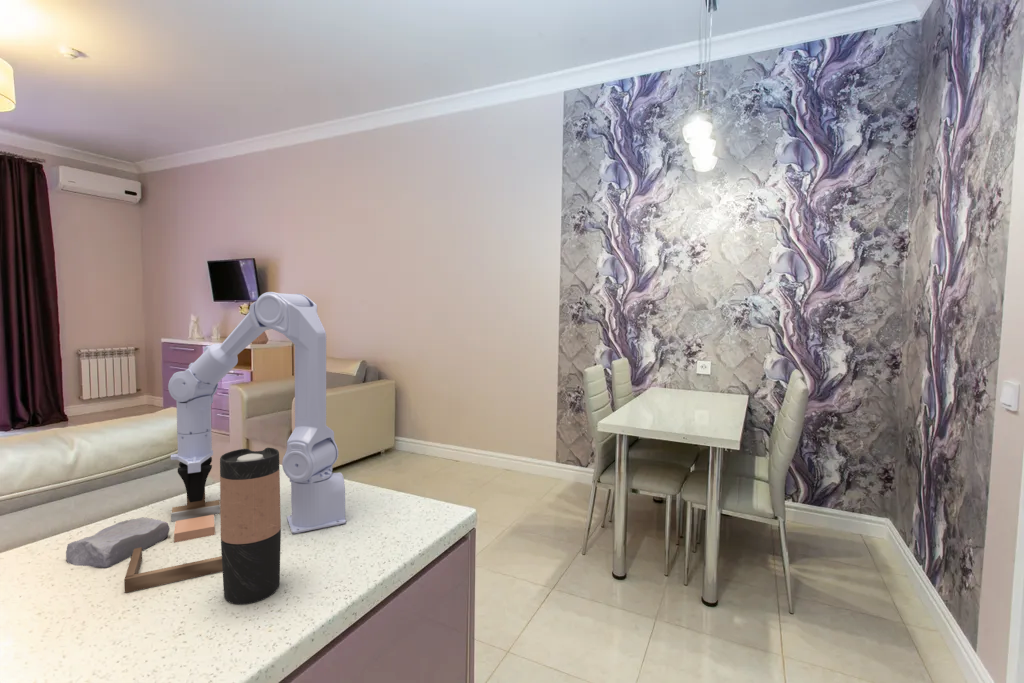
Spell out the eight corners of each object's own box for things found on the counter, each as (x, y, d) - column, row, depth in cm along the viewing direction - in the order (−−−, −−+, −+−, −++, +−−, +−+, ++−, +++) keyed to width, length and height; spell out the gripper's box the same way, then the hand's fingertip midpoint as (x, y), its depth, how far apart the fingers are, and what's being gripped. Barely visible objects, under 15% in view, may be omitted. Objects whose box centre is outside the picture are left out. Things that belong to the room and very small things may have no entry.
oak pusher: (219, 506, 102) (219, 477, 101) (220, 514, 98) (219, 484, 97) (172, 514, 98) (171, 484, 97) (171, 523, 94) (170, 492, 93)
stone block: (58, 575, 78) (109, 570, 76) (53, 545, 78) (104, 539, 76) (130, 544, 90) (175, 538, 88) (125, 517, 90) (171, 511, 88)
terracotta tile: (214, 524, 94) (213, 514, 94) (214, 537, 89) (214, 526, 89) (176, 531, 91) (175, 521, 91) (174, 545, 86) (174, 533, 85)
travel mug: (240, 612, 66) (238, 465, 65) (210, 594, 70) (208, 456, 69) (292, 586, 73) (291, 452, 71) (262, 570, 77) (260, 444, 76)
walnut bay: (247, 538, 87) (247, 527, 87) (251, 564, 78) (251, 552, 78) (134, 560, 79) (134, 548, 79) (124, 593, 70) (124, 579, 70)
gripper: (172, 425, 102) (174, 490, 103) (167, 441, 89) (169, 515, 90) (212, 422, 105) (213, 484, 106) (212, 437, 93) (214, 507, 94)
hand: (196, 498), depth 98 cm, fingers open, 3 cm apart
